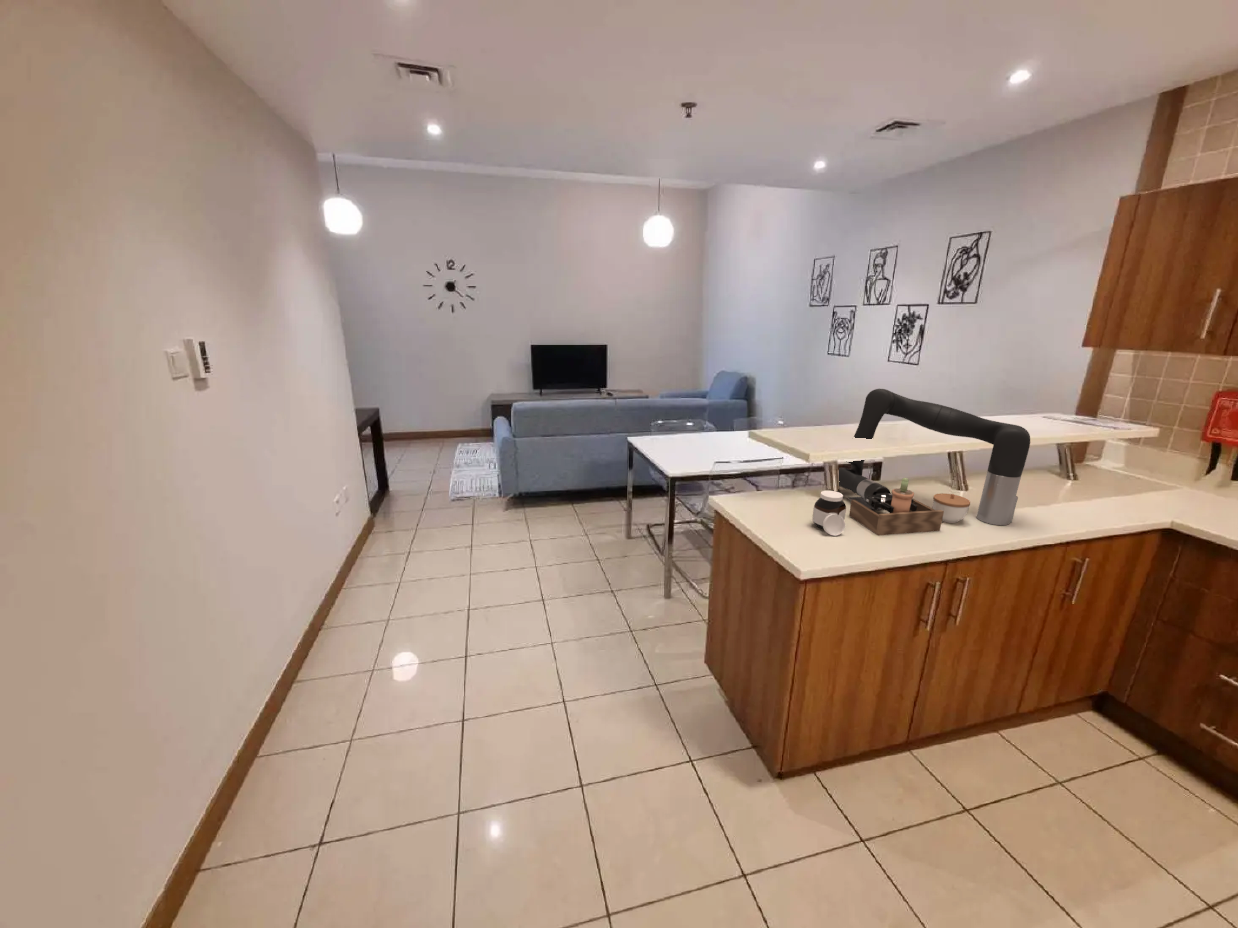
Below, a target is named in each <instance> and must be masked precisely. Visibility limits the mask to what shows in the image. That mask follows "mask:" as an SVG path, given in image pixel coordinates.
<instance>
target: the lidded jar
mask: <svg viewBox="0 0 1238 928" xmlns="http://www.w3.org/2000/svg"><path fill="white" fill-rule="evenodd" d="M970 506H971V501H970V500H969V499H968V498H966V497H964V496H960V495H957V494H954V493H943V492H941V493H935V494H934V495H933V498H932V507H931V508H932V509H934V510H942V511H944V514H943V518H942V522H943V523H949V524H956V523H958V522H960V521H961V520H963V519H964V518H965V517H966V516H967V514H968V512H969V509H970Z"/></svg>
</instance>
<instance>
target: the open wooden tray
mask: <svg viewBox="0 0 1238 928" xmlns="http://www.w3.org/2000/svg"><path fill="white" fill-rule="evenodd" d="M912 499H913V500H914V501H913V504H915V505H916V506H917V509H916V511H914V512H913V511H911V510H909V512H901V513H889V512H888V513H877V512H875V511H872V510H871V509H869V508H867V507H866V506H864V505H862V504H861V503H859V502H857V501H856V500H850V507H849V514H848V516H849V517H850V518H851V519H854V521H856V522H858V524H861V525H862V526H863V527H865V528H867V529H868V530H870V531H871V532H872V533H874V534H875V535H876V536H884V535H885V536H889V535H901V534H914V533H917V534H918V533H926V532H927V533H928V532H929V533H930V532H940V531H941V526H942V522H943V521H942V518H943V514H944V511H942V510H934V509H933V507H930V506H928V505H926V504H924V503H923V502H920V501H918V500H917V499H914V497H913V498H912Z"/></svg>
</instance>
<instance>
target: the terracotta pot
mask: <svg viewBox="0 0 1238 928" xmlns="http://www.w3.org/2000/svg"><path fill="white" fill-rule="evenodd" d="M908 487H909V478H908V477H903V478H902V479H901V482H900V488H899V487H898V488H893V489H892V490H891V494H892V495H893V496H892V502H891V506H893V507H894V509H893V513H901V512H909V510H910V505H911V500H912V498H913V499H914V497H915V496H914V495H915V492H914V491H912V490H909V489H908Z"/></svg>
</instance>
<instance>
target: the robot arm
mask: <svg viewBox="0 0 1238 928" xmlns="http://www.w3.org/2000/svg"><path fill="white" fill-rule="evenodd" d="M862 410H863V411H862V414H861V417H860V420H859V423H858V426H857V428H856V431H855V433H854V436H853V437H855V438H866V439H872V438H873V439H874V437H875V434H876V430H877V428H878V426H879V424H880V421H881V420H882V419H883V417H884V416H885V415H891V416H893V417H898V418H902V419H905V420H908V421H909V422H911V423H913V424H916V425H917V426H920V427H922V428H925V429H927V430H930V431H934V432H937V433H940V434H944V435H948V436H954V437H962V438H970V439H976V440H980V441H982V442H984V443H988V444H990V445H993V446H992V450H991V454H990V458H989V462H988V466H987V471H986V476H985V478H984V479H985V480H984V484H983V488H982V493H981V496H980V500H979V504H978V509H977V513H976V518H977V520H979V521H980V522H981V521H982V522H983V523H987V524H990V525H994V526H996V525H997V526H1007V525H1009V524H1010V523H1013V519H1014V514H1015V511H1016V507H1017V503H1018V499H1019V497H1018V496H1017V493H1018V490H1019V486H1020V483H1021V482H1020V481H1021V478H1022V474H1023V471H1024V469H1025V466H1026V462H1027V458H1028V454H1029V452H1030V451H1029V450H1030V448H1031V447H1030V446H1031V435H1030V433H1029V431H1028V430H1027V429H1026V428H1025V427H1023V426H1020V425H1018V424H1013V423H1007V422H1000V421H996V420H990V419H987V418H983V417H980V416H978V415H975V414H973V413H968V412H966V411H963V410H960V409H957V408H955V407H953V408H952V407H949V406H946V405H942V404H939V403H934V402H929V401H923V400H918V399H913V398H909V397H905V396H903V395H900V394H899V393H895V392H893V391H890V390H888V389H885V388H875V389H873V390H871V391H870V392H869V393H868V394H867V395H866V397H865V402H864V406H863V409H862ZM865 461H866V459H865V460H861V461H853V462H847V463H848V464H850V468H846V467H838V468H839V481H840V482H839V486H838V487H841V488H843V489H846V490H848V491H851V492H853V494H856V495H857V496H858V497H861V498H863V499H864V500H866V503H867V504H868V505H870V506H871V507H873V508H875V509H878V508H880V509H884V510H883V511H886V512H888V513H893V509H894V507H893V506H891V502H892V496H893V495H892V492H891V491H890V489H889V488H888V487H886V486H884V485H883V484H881V483H879V482H877V481H875V480H871V479H869V478H867V477H866V476H863V471H864V466H865V465H864V463H865ZM913 499H914V498H913ZM913 499H912V500H911V505H910V510H911V511H913V512H914V511H916V509H917V506H916V505H915V504H913V501H914V500H913Z"/></svg>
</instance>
